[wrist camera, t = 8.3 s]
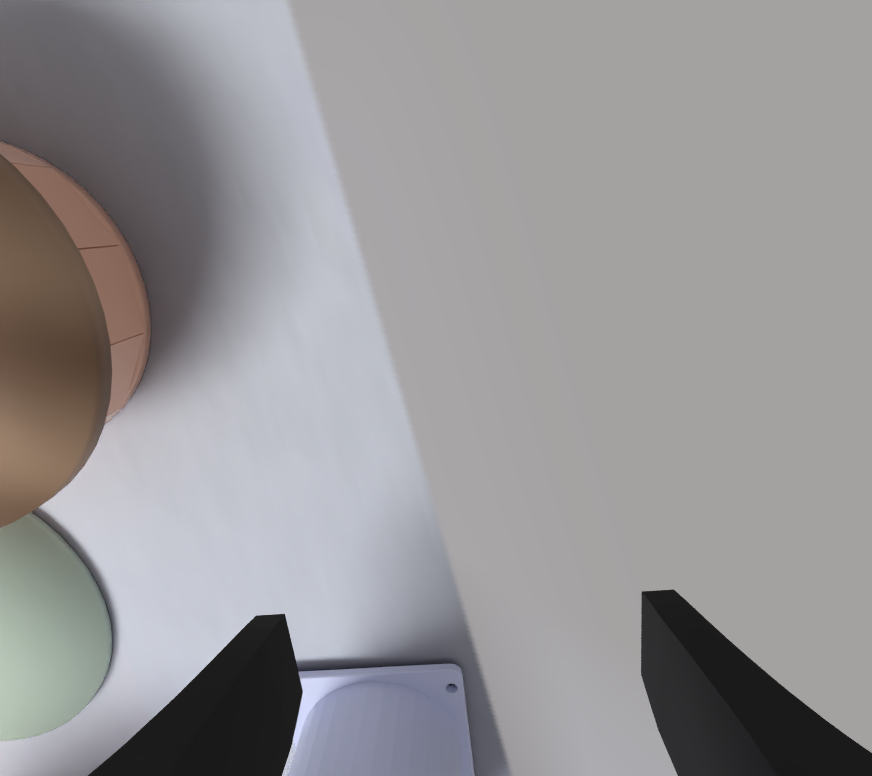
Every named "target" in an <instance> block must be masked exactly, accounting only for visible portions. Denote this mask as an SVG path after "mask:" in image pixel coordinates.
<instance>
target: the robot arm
mask: <svg viewBox="0 0 872 776" xmlns="http://www.w3.org/2000/svg"><path fill="white" fill-rule="evenodd" d="M641 636H642V637H641V639H642V640H641V642H642V643H641V644H642V645H641V646H642V647H641V675H642V678H643V682H644V685H645V688H646V692H647V695H648V698H649V701H650V704H651V708H652V711H653V714H654V717H655V720H656V723H657V727H658V730H659V732H660V735H661V737H662V739H663V742H664V744H665V746H666V749H667V751H668V754H669V756H670V758H671V760H672V763H673V765H674V767H675V770H676V772H677V775H678V776H872V753H871V752H869V751H868V750H866V749H865V748H863V747H862V746H861V745H859V744H858V743H856V742H855V741H854V740H852V739H851V738H849V737H848V736H846V735H845V734H844V733H842V732H841V731H840V730H838V729H837V728H835V727H834V726H833V725H831V724H830V723H829V722H827V721H826V720H825V719H823V718H822V717H821V716H820V715H818V714H817V713H816V712H814V711H813V710H812V709H810V708H809V707H808V706H807V705H805V704H804V703H803V702H802V701H800V700H799V699H798V698H796V697H795V696H794V695H793V694H791V693H790V692H789V691H787V689H785V688H784V687H783V686H782V685H780V684H779V683H778V682H777V681H776V680H774V679H773V678H772V677H771V676H770V675H768V674H767V673H766V672H765V671H764V670H763V669H761V668H760V667H759V666H758V665H757V664H756V663H754V662H753V661H752V660H751V659H750V658H748V657H747V656H746V655H745V654H744V653H743V652H742V651H741V650H739V649H738V648H737V647H736V646H735V645H734V644H733V643H732V642H730V641H729V640H728V639H727V638H726V637H725V636H724V635H723V634H722V633H720V632H719V631H718V630H717V629H716V628H715V627H714V626H713V625H712V624H711V623H709V622H708V621H707V620H706V619H705V618H704V617H703V616H702V615H701V614H700V613H699V612H698V611H696V610H695V609H694V608H693V607H692V606H691V605H690V604H689V603H688V602H687V601H686V600H685V599H684V598H682V597H681V596H680V595H679V594H678V593H677V592H676V591H675V590H661V591H645V592H642V634H641ZM448 684H455V685H453V686H451V685H448ZM292 741H293V742H294V746H295V753H294V757H293V760H292V763H291V766H290V770H289V773H288V776H475V774H474V766H473V757H472V749H471V741H470V732H469V724H468V716H467V708H466V699H465V691H464V683H463V674H462V670H461V668H460V667H459V666H457V665H455V664H431V665H413V666H394V667H376V668H357V669H339V670H321V671H302V672H298V668H297V664H296V660H295V656H294V651H293V647H292V643H291V639H290V634H289V630H288V626H287V622H286V617H285V614H276V615H260V616H255V617H254V618H253V619H252V620H251V621H250V622H249V623H248V624H247V625H246V626H245V627H244V628H243V629H242V630H241V631H240V632H239V633H238V634H237V635H236V636H235V637H234V638H233V639H232V640H231V641H230V642H229V644H228V645H227V646H226V647H225V648H224V649H223V650H222V651H221V652H220V653H219V654H218V655H217V656H216V657H215V658H214V659H213V660H212V661H211V662H210V663H209V664H208V665H207V666H206V667H205V668H204V669H203V670H202V671H201V672H200V673H199V674H198V675H197V676H196V677H195V678H194V679H193V680H192V681H191V682H190V683H189V684H188V685H187V686H186V687H185V688H184V689H183V690H182V691H181V692H180V693H179V694H178V695H177V696H176V697H175V698H174V699H173V700H172V701H171V702H170V703H169V704H168V705H167V706H165V707H164V708H163V709H162V710H161V711H160V712H159V713H158V714H157V715H156V716H155V717H154V718H153V719H151V720H150V721H149V722H148V723H147V724H146V725H145V726H144V727H143V728H142V729H141V730H140V731H139V732H138V733H136V734H135V735H134V736H133V737H132V738H131V739H130V740H129V741H128V742H127V743H126V744H124V745H123V746H122V747H121V748H120V749H119V750H118V751H117V752H115V753H114V754H113V755H112V756H111V757H110V758H108V759H107V760H106V761H105V762H104V763H103V764H101V765H100V766H99V767H98V768H97V769H95V770H94V771H93V772H92V773H90V774H89V775H88V776H282V773H283V770H284V767H285V764H286V761H287V758H288V755H289V752H290V749H291V745H292Z"/></svg>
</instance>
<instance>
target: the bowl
mask: <svg viewBox="0 0 872 776" xmlns="http://www.w3.org/2000/svg"><path fill="white" fill-rule="evenodd" d="M0 154H1V155H2V156H4V157H5V158H6V159H7V160H8V161H9V162H10V163H12V164H13V165H14V166H15V167H16V168H17V169H18V170H19V171H20V172H21V173H22V174H23V175H24V177H25V178H26V179H27V180H28V181H29V182H30V183H31V184H32V185H33V186H34V187H35V188H36V190H37V191H38V192H39V193H40V194H41V195H42V196H43V198H44V199H45V200H46V202H47V203H48V204H49V206H50V207H51V208H52V210H53V211H54V212H55V214H56V215H57V216H58V218H59V219H60V220H61V222H62V223H63V225H64V226H65V228H66V230H67V231H68V233H69V235H70V236H71V238H72V240H73V241H74V243H75V245H76V246H77V248H78V250H79V251H80V253H81V255H82V257H83V259H84V262H85V264H86V266H87V268H88V270H89V273H90V275H91V277H92V279H93V281H94V283H95V286H96V289H97V292H98V295H99V299H100V302H101V305H102V308H103V311H104V314H105V319H106V324H107V329H108V334H109V339H110V344H111V359H112V384H111V398H110V403H109V408H108V412H107V417H106V421H105V423H107V422H108V421H110V420H111V419H112V418H113V417H114V416H115V415H116V414H117V413H118V412H120V411H121V410H122V409H123V407H124V406H125V405H126V403H127V402H128V401H129V400H130V398H131V397H132V396H133V394H134V392H135V390H136V388H137V387H138V385H139V383H140V381H141V378H142V376H143V373H144V370H145V367H146V364H147V359H148V354H149V349H150V339H151V319H150V307H149V302H148V297H147V292H146V288H145V284H144V281H143V278H142V275H141V272H140V269H139V266H138V264H137V262H136V260H135V258H134V256H133V254H132V251H131V249H130V247H129V245H128V244H127V242H126V240H125V239H124V237H123V235H122V234H121V232H120V231H119V229H118V227H117V226H116V224H115V223H114V222H113V221H112V219H111V218H110V217H109V215H108V214H107V213H106V211H105V210H104V209H103V208H102V206H101V205H100V204H99V203H98V202H97V201H96V200H95V199H94V198H93V197H92V196H91V195H90V194H89V193H88V192H87V191H86V190H85V189H84V188H83V187H82V186H80V185H79V184H78V183H77V182H76V181H74V180H73V179H72V178H71V177H70V176H68V175H67V174H66V173H64V172H63V171H61V170H60V169H58V168H57V167H55V166H54V165H52V164H51V163H49V162H48V161H46V160H44V159H42V158H40V157H38V156H36V155H34V154H32V153H30V152H28V151H27V150H24V149H21V148H18V147H16V146H13V145H10V144H8V143H5V142H1V141H0Z"/></svg>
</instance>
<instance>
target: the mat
mask: <svg viewBox="0 0 872 776" xmlns="http://www.w3.org/2000/svg"><path fill="white" fill-rule="evenodd" d="M111 655H112V631H111V623H110V618H109V614H108V611H107V607H106V604H105V601H104V599H103V596H102V594H101V592H100V590H99V587H98V585H97V583H96V582H95V580H94V578H93V577H92V575H91V573H90V571H89V570H88V568H87V567H86V565H85V564H84V563H83V561H82V560H81V559H80V557H79V556H78V555H77V554H76V552H75V551H74V550H73V549H72V548H71V547H70V546H69V544H68V543H67V542H66V541H65V540H64V539H63V538H62V537H61V536H60V535H59V534H58V533H57V532H56V531H54V530H53V529H52V528H51V527H50V526H49V525H48V524H46V523H45V522H44V521H43V520H42V519H40V518H39V517H38V516H36V515H35V514H33V513H32V512H30V513H29V514H27V515H25V516H24V517H22V518H20V519H18V520H17V521H15V522H13V523H11V524H8V525H6V526H4V527H1V528H0V741H9V740H19V739H24V738H29V737H33V736H38V735H40V734H43V733H46V732H49V731H51V730H54V729H56V728H57V727H59V726H61V725H63V724H65V723H67V722H68V721H69V720H71V719H72V718H73V717H75V716H76V715H77V714H79V713H80V712H81V710H82V709H83V708H84V707H85V706H86V705H87V704H88V703H89V702H90V701H91V699H92V698H93V697H94V695H95V694H96V692H97V691H98V689H99V688H100V686H101V684H102V683H103V681H104V678H105V676H106V673H107V671H108V669H109V664H110V659H111Z"/></svg>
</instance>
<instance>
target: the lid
mask: <svg viewBox="0 0 872 776" xmlns="http://www.w3.org/2000/svg"><path fill="white" fill-rule="evenodd" d="M111 384H112V359H111V344H110V339H109V334H108V329H107V324H106V319H105V314H104V311H103V308H102V305H101V302H100V299H99V295H98V292H97V289H96V286H95V283H94V281H93V279H92V277H91V275H90V273H89V270H88V268H87V266H86V264H85V262H84V259H83V257H82V255H81V253H80V251H79V250H78V248H77V246H76V245H75V243H74V241H73V240H72V238H71V236H70V235H69V233H68V231H67V230H66V228H65V226H64V225H63V223H62V222H61V220H60V219H59V218H58V216H57V215H56V214H55V212H54V211H53V210H52V208H51V207H50V206H49V204H48V203H47V202H46V200H45V199H44V198H43V196H42V195H41V194H40V193H39V192H38V191H37V190H36V188H35V187H34V186H33V185H32V184H31V183H30V182H29V181H28V180H27V179H26V178H25V177H24V175H23V174H22V173H21V172H20V171H19V170H18V169H17V168H16V167H15V166H14V165H13V164H12V163H10V162H9V161H8V160H7V159H6V158H5V157H4V156H2V155H1V154H0V528H1V527H4V526H6V525H8V524H11V523H13V522H15V521H17V520H18V519H20V518H22V517H24V516H25V515H27V514H29V513H30V512H32V511H34V510H35V509H36V508H38V507H39V506H41V505H42V504H44V503H45V502H47V501H48V500H49V499H51V498H52V497H54V496H55V495H56V494H57V493H58V492H59V491H61V490H62V489H63V488H64V487H65V486H67V485H68V484H69V483H70V482H71V481H72V480H73V478H74V477H75V476H76V475H77V474H78V473H79V471H80V470H81V469H82V468H83V467H84V465H85V464H86V462H87V460H88V459H89V457H90V455H91V454H92V452H93V450H94V449H95V447H96V445H97V442H98V440H99V437H100V435H101V432H102V430H103V427H104V425H105V421H106V417H107V412H108V408H109V403H110V398H111Z"/></svg>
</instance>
